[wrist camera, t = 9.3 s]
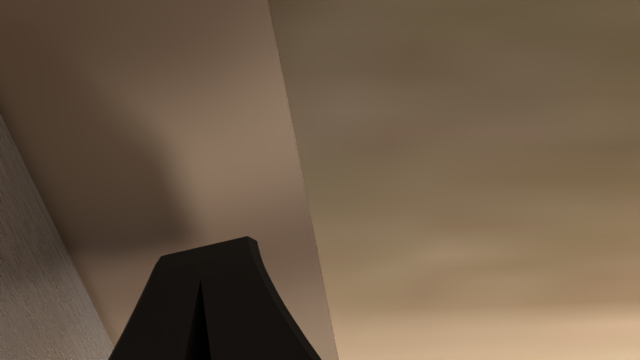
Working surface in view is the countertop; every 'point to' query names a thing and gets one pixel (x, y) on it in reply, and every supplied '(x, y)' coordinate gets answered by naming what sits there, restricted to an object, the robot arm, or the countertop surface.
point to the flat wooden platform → (160, 142)
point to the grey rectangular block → (39, 277)
